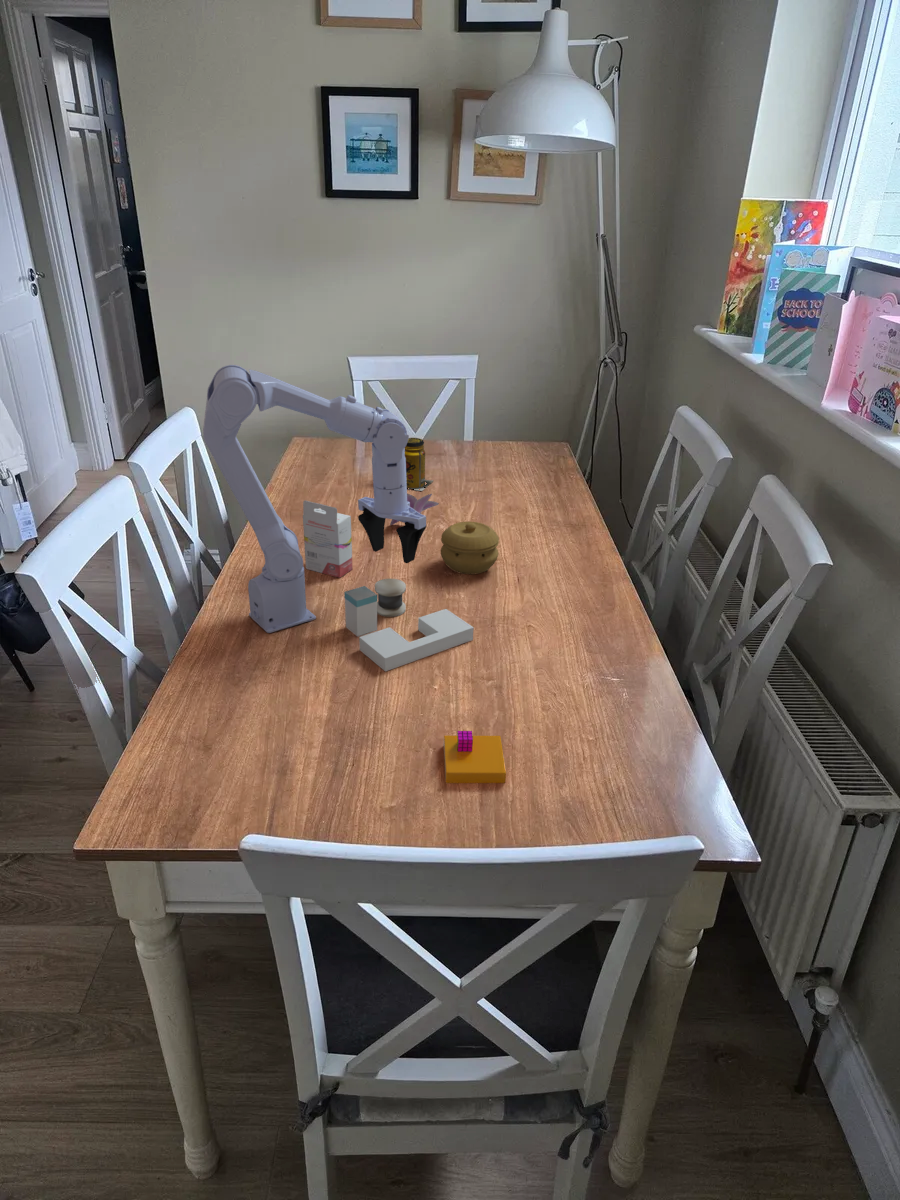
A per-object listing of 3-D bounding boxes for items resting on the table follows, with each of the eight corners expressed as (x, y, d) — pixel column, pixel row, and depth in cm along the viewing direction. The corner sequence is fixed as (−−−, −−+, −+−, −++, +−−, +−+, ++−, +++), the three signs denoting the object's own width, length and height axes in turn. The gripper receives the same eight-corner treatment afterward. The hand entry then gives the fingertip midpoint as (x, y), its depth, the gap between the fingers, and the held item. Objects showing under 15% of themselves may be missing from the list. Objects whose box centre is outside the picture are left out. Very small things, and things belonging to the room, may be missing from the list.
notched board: (385, 671, 130) (385, 658, 129) (359, 649, 136) (359, 637, 135) (472, 639, 140) (473, 627, 139) (445, 620, 146) (445, 608, 144)
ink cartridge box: (353, 569, 163) (352, 501, 156) (339, 578, 159) (337, 509, 152) (319, 560, 167) (315, 492, 160) (304, 569, 163) (300, 500, 156)
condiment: (395, 487, 206) (395, 441, 200) (408, 477, 213) (408, 433, 207) (421, 491, 204) (422, 445, 198) (433, 481, 211) (435, 436, 205)
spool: (385, 619, 145) (385, 595, 143) (369, 607, 149) (368, 583, 147) (411, 611, 148) (411, 587, 146) (394, 599, 152) (394, 575, 150)
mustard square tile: (499, 747, 115) (501, 723, 113) (505, 785, 108) (507, 760, 106) (443, 747, 114) (444, 723, 112) (445, 785, 107) (446, 760, 105)
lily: (446, 528, 186) (435, 488, 185) (443, 528, 174) (431, 485, 174) (397, 543, 187) (385, 503, 186) (390, 544, 175) (378, 501, 175)
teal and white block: (357, 636, 140) (356, 601, 136) (345, 627, 143) (344, 591, 139) (377, 630, 142) (377, 595, 139) (365, 620, 145) (364, 585, 142)
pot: (507, 565, 167) (510, 520, 163) (480, 586, 158) (482, 539, 154) (458, 551, 172) (460, 508, 168) (429, 571, 163) (430, 526, 159)
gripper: (437, 486, 137) (438, 558, 144) (375, 468, 145) (380, 537, 152) (409, 498, 132) (412, 572, 139) (347, 479, 141) (353, 550, 147)
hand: (393, 555), depth 145 cm, fingers open, 7 cm apart
